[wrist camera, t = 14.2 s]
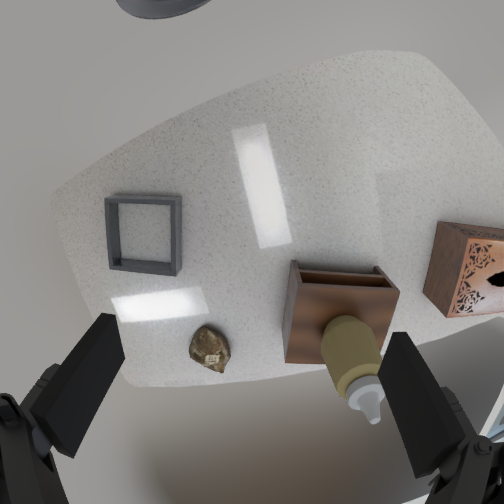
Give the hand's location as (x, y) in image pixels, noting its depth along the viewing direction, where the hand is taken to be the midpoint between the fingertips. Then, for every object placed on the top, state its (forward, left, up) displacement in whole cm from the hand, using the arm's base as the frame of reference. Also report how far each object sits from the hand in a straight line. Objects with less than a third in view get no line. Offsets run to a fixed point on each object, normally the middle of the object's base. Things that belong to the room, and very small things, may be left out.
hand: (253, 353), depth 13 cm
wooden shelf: (+16, +14, -36) cm, 42 cm away
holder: (+6, -19, -36) cm, 41 cm away
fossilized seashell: (+28, -7, -36) cm, 46 cm away
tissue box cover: (+6, +46, -36) cm, 59 cm away
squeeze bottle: (+16, +14, -26) cm, 34 cm away
